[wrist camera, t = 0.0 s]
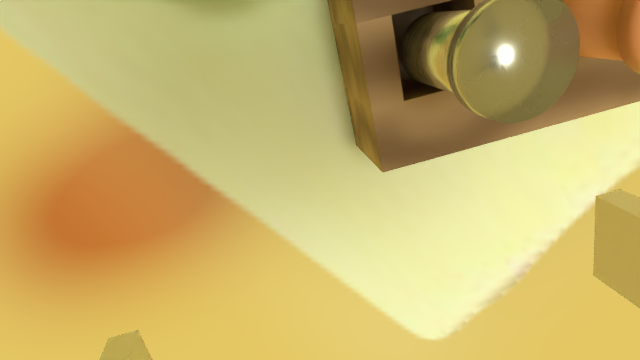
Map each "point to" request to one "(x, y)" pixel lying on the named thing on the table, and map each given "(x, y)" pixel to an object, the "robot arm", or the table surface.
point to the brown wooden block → (436, 104)
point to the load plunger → (608, 29)
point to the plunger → (496, 55)
